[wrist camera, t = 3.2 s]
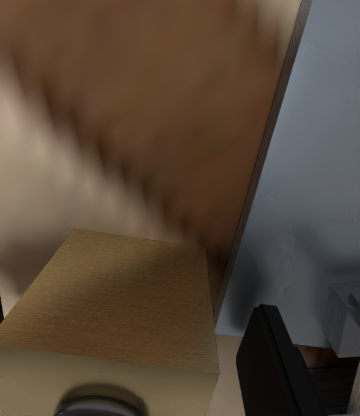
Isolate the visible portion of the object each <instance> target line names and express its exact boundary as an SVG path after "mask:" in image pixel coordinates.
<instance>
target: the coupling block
mask: <svg viewBox="0 0 360 416" xmlns="http://www.w3.org/2000/svg"><path fill="white" fill-rule="evenodd" d="M219 374H220V370H219V361H218V353H217V344H216V336H215V327H214V319H213V310H212V302H211V293H210V285H209V276H208V268H207V259H206V251H205V248H204V247H197V246H190V245H183V244H176V243H169V242H162V241H155V240H148V239H141V238H134V237H126V236H119V235H112V234H105V233H98V232H91V231H84V230H77V229H74V230H73V231H72V232H71V233H70V235H69V236H68V237H67V239H66V240H65V241H64V243H63V244H62V245H61V246H60V248H59V249H58V250H57V252H56V253H55V254H54V255H53V257H52V258H51V259H50V261H49V262H48V263H47V265H46V266H45V267H44V268H43V270H42V271H41V272H40V274H39V275H38V276H37V277H36V279H35V280H34V281H33V283H32V284H31V285H30V286H29V288H28V289H27V290H26V292H25V293H24V294H23V296H22V297H21V298H20V299H19V301H18V302H17V303H16V305H15V306H14V307H13V308H12V310H11V311H10V312H9V314H8V315H7V316H6V317H5V319H4V320H3V321H2V323H1V324H0V416H206V413H207V410H208V407H209V404H210V401H211V398H212V395H213V392H214V389H215V386H216V383H217V380H218V377H219Z"/></svg>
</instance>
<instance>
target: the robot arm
mask: <svg viewBox="0 0 360 416" xmlns="http://www.w3.org/2000/svg"><path fill="white" fill-rule="evenodd" d="M3 320H4V316H3V310H2V303H1V297H0V324H1V323H2V321H3ZM236 366H237V371H238V377H239V382H240V388H241V393H242V399H243V404H244V410H245V415H246V416H328V414H327V411H326V409H325V407H324V404H323V402H322V400H321V397H320V395H319V393H318V390H317V388H316V386H315V384H314V381H313V379H312V377H311V374H310V372H309V370H308V367H307V365H306V363H305V360H304V358H303V356H302V354H301V352H300V350H299V349H298V348H297V347H296V346H294V345H293V343H292V341H291V338H290V336H289V333H288V331H287V329H286V326H285V324H284V321H283V319H282V316H281V314H280V312H279V309H278V307H277V306H275V305H267V304H260V305H259V306H258V307H254V309H253V311H252V314H251V317H250V320H249V322H248V325H247V328H246V331H245V333H244V336H243V339H242V342H241V344H240V347H239V350H238V353H237V356H236Z"/></svg>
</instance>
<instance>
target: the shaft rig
mask: <svg viewBox="0 0 360 416" xmlns="http://www.w3.org/2000/svg"><path fill="white" fill-rule="evenodd" d="M260 304H267V305H275V306H277V307H278V309H279V312H280V314H281V316H282V319H283V321H284V324H285V326H286V329H287V331H288V333H289V336H290V338H291V341H292V343H293V344H299V345H306V346H314V347H322V348H330V349H333V350H334V351H335V353H336V355H337V357H338V358H341V357H360V0H302V2H301V6H300V10H299V13H298V17H297V20H296V24H295V27H294V31H293V34H292V38H291V41H290V45H289V48H288V52H287V56H286V59H285V63H284V66H283V70H282V73H281V77H280V80H279V84H278V87H277V91H276V94H275V98H274V102H273V105H272V109H271V112H270V116H269V119H268V123H267V126H266V130H265V133H264V137H263V140H262V144H261V147H260V151H259V155H258V158H257V162H256V165H255V169H254V172H253V176H252V179H251V183H250V186H249V190H248V193H247V197H246V201H245V204H244V208H243V211H242V215H241V218H240V222H239V225H238V229H237V232H236V236H235V239H234V243H233V247H232V250H231V254H230V257H229V261H228V264H227V268H226V271H225V275H224V278H223V282H222V285H221V289H220V292H219V296H218V300H217V303H216V307H215V310H214V314H213V319H214V327H215V334H220V335H228V336H236V337H243V336H244V333H245V331H246V328H247V325H248V322H249V320H250V317H251V314H252V311H253V309H254V307H258V306H259V305H260ZM308 370H309V372H310V374H311V377H312V379H313V381H314V384H315V386H316V388H317V390H318V393H319V395H320V397H321V400H322V402H323V404H324V407H325V409H326V411H327V414H328V416H360V362H359V366H358V367H344V368H324V369H308Z"/></svg>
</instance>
